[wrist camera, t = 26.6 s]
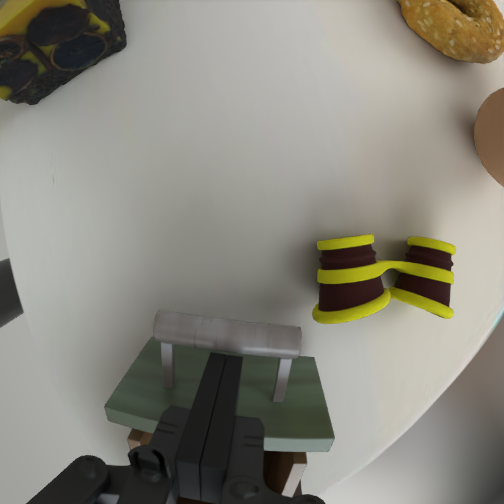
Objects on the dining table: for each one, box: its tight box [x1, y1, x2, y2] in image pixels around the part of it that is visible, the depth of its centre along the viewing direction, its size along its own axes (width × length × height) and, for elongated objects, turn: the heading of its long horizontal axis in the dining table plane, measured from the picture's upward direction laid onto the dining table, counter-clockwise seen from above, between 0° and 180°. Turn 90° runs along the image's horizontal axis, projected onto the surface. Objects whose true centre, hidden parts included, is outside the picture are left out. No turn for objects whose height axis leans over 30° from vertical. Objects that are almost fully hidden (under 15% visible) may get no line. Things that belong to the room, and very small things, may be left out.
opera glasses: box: [312, 234, 456, 324], centre depth 17 cm, size 10×5×5 cm, turn 88°
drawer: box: [105, 310, 335, 504], centre depth 17 cm, size 19×12×8 cm, turn 174°
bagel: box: [397, 0, 504, 64], centre depth 12 cm, size 10×11×5 cm
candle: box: [0, 0, 127, 105], centre depth 11 cm, size 10×10×10 cm
